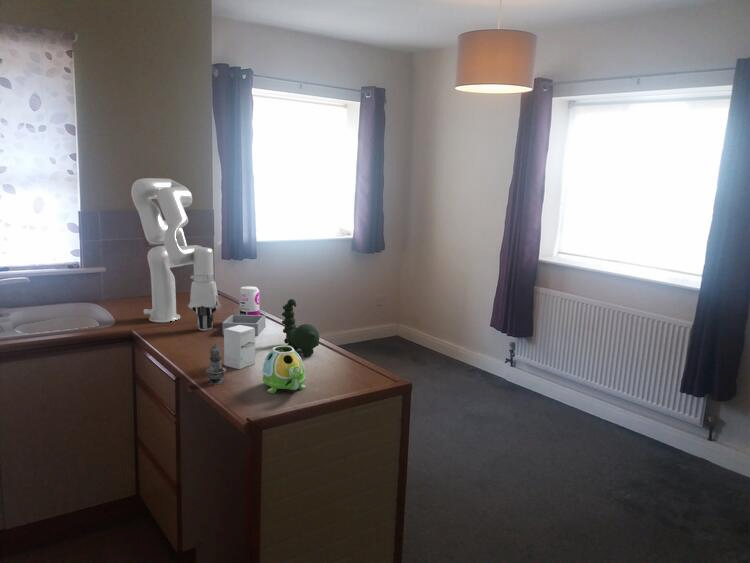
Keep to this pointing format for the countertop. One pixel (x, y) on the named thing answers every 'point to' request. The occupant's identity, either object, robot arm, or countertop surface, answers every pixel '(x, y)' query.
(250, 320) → the tray
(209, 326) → the beverage can
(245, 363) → the supplement box
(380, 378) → the countertop surface
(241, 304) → the supplement can
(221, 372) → the grey tower figurine
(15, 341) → the countertop surface
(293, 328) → the toy figurine
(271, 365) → the turtle holder
